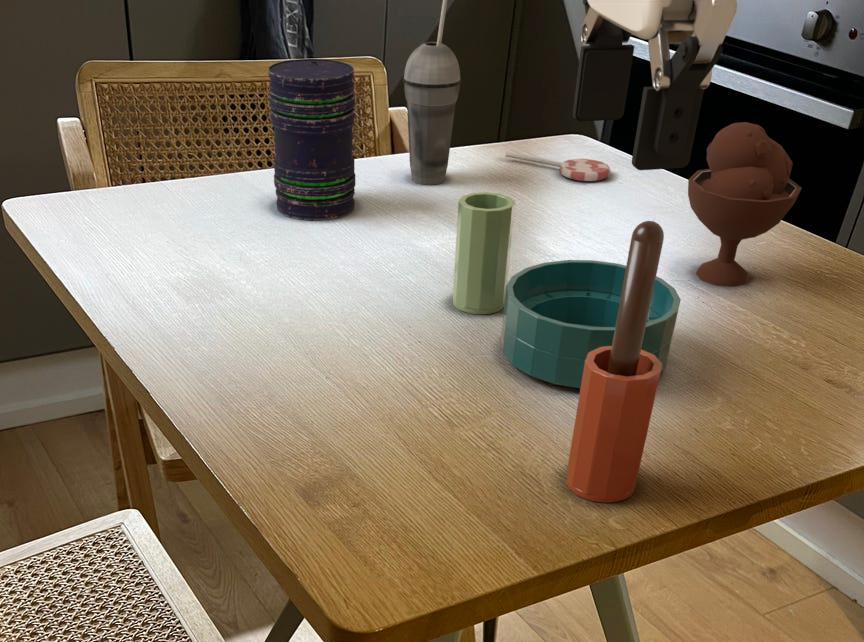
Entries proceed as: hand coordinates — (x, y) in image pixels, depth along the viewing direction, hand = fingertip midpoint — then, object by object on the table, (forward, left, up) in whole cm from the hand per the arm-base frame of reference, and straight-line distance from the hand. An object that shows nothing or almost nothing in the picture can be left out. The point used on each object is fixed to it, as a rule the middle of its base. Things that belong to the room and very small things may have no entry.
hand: (626, 141), depth 57 cm
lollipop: (+16, -76, -24) cm, 82 cm away
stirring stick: (-2, -1, -24) cm, 24 cm away
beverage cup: (+31, -66, -25) cm, 77 cm away
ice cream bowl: (-8, -46, -25) cm, 53 cm away
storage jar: (+41, -51, -25) cm, 70 cm away
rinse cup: (+15, -30, -24) cm, 42 cm away
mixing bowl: (+3, -22, -24) cm, 33 cm away
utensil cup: (-2, -1, -24) cm, 24 cm away
